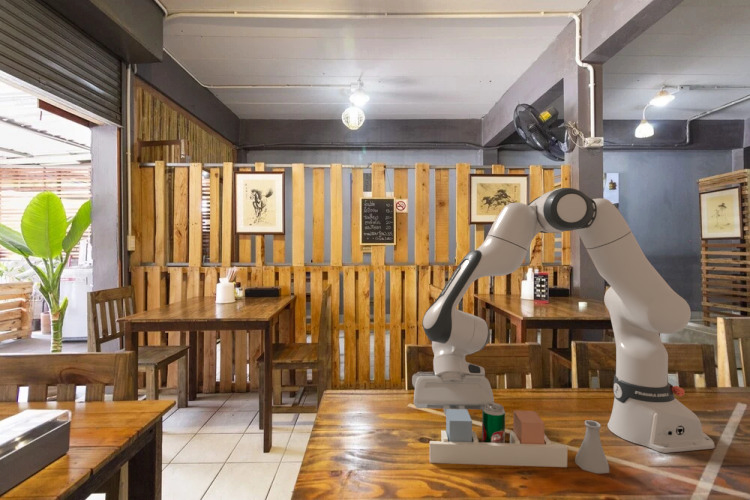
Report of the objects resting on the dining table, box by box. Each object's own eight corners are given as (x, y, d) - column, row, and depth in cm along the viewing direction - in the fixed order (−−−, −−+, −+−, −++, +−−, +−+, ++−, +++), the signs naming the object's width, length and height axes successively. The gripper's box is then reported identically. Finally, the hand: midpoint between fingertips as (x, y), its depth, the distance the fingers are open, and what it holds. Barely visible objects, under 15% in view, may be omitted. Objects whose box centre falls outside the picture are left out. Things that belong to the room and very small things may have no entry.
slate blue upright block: (466, 443, 95) (466, 407, 94) (471, 460, 88) (472, 421, 87) (445, 443, 95) (445, 407, 94) (449, 459, 88) (449, 420, 88)
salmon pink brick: (532, 445, 94) (533, 409, 93) (543, 462, 87) (544, 423, 86) (511, 445, 94) (512, 408, 94) (521, 461, 87) (521, 422, 87)
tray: (538, 431, 102) (538, 410, 102) (567, 470, 85) (567, 445, 85) (424, 428, 104) (424, 407, 104) (430, 465, 87) (430, 441, 87)
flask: (616, 479, 82) (617, 433, 82) (579, 475, 83) (580, 429, 83) (603, 460, 89) (604, 417, 89) (569, 456, 90) (570, 414, 90)
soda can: (492, 465, 87) (493, 413, 86) (477, 454, 91) (477, 404, 91) (509, 459, 89) (509, 408, 89) (493, 449, 94) (493, 400, 93)
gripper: (412, 366, 103) (413, 420, 93) (490, 367, 102) (499, 422, 92) (411, 376, 107) (412, 429, 98) (486, 378, 106) (494, 431, 97)
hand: (455, 425), depth 95 cm, fingers closed, pressing on slate blue upright block
